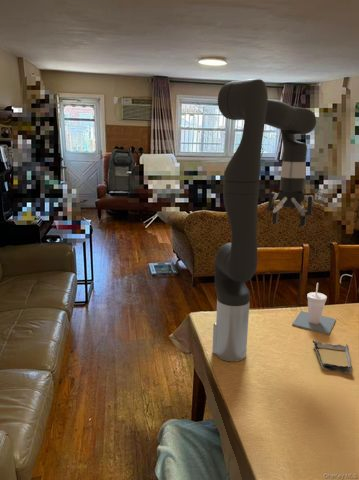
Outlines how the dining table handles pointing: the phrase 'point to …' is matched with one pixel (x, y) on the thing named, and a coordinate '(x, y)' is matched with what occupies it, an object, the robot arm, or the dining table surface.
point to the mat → (322, 327)
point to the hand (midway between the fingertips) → (288, 225)
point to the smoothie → (315, 306)
